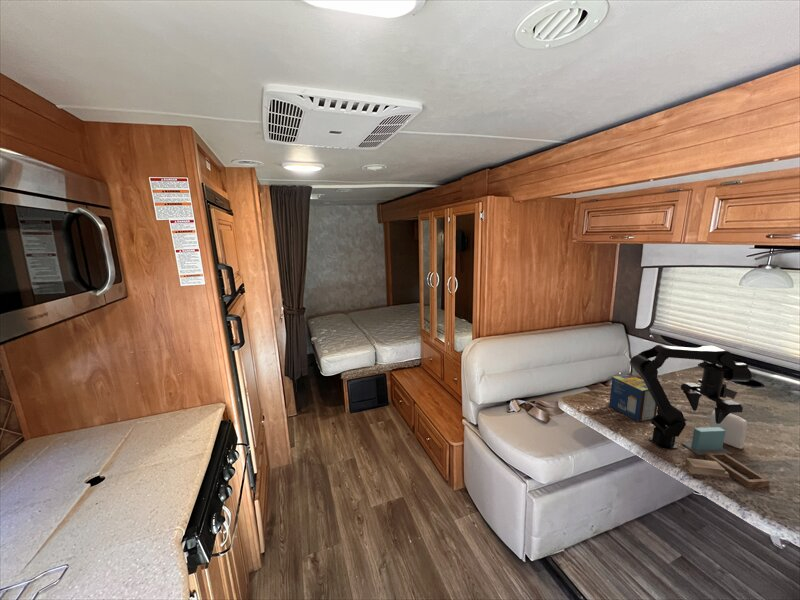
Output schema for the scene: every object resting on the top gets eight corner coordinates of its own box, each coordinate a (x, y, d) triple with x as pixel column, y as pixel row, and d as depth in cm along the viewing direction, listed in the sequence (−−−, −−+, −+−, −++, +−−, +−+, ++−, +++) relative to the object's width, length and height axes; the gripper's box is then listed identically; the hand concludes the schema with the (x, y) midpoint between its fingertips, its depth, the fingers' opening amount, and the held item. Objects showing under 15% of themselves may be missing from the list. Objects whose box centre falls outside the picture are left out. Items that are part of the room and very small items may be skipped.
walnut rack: (747, 487, 102) (748, 482, 102) (704, 458, 116) (705, 453, 116) (768, 486, 102) (769, 481, 102) (723, 457, 116) (724, 452, 116)
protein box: (624, 402, 157) (628, 373, 154) (656, 418, 142) (660, 387, 140) (608, 405, 155) (611, 376, 152) (638, 422, 140) (642, 390, 137)
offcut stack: (682, 464, 114) (683, 457, 113) (717, 468, 111) (719, 461, 111) (691, 474, 109) (692, 466, 108) (728, 479, 107) (730, 471, 106)
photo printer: (705, 436, 129) (710, 409, 127) (709, 433, 131) (714, 406, 129) (741, 450, 120) (746, 421, 118) (744, 446, 122) (750, 418, 120)
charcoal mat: (698, 455, 118) (698, 454, 117) (681, 443, 124) (681, 442, 124) (731, 454, 118) (731, 453, 118) (712, 442, 125) (713, 441, 125)
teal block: (722, 449, 120) (725, 430, 119) (697, 450, 120) (700, 431, 118) (715, 445, 122) (719, 427, 121) (691, 446, 122) (694, 428, 121)
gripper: (761, 390, 109) (753, 430, 111) (708, 369, 127) (702, 404, 130) (730, 391, 108) (722, 431, 111) (682, 369, 127) (676, 404, 130)
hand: (705, 416), depth 120 cm, fingers open, 9 cm apart
